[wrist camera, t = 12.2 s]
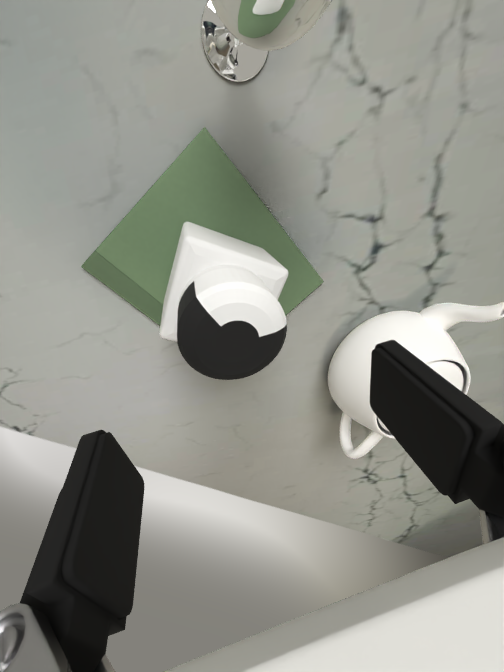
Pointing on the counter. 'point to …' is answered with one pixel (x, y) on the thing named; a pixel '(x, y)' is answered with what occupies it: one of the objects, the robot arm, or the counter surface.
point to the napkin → (201, 209)
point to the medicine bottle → (224, 304)
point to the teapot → (417, 337)
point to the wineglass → (253, 31)
